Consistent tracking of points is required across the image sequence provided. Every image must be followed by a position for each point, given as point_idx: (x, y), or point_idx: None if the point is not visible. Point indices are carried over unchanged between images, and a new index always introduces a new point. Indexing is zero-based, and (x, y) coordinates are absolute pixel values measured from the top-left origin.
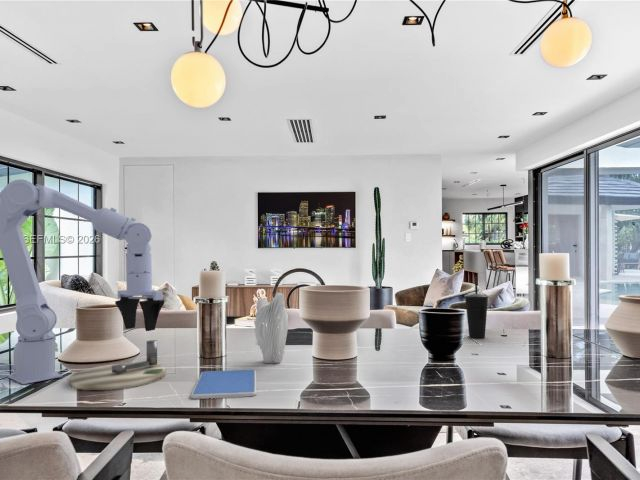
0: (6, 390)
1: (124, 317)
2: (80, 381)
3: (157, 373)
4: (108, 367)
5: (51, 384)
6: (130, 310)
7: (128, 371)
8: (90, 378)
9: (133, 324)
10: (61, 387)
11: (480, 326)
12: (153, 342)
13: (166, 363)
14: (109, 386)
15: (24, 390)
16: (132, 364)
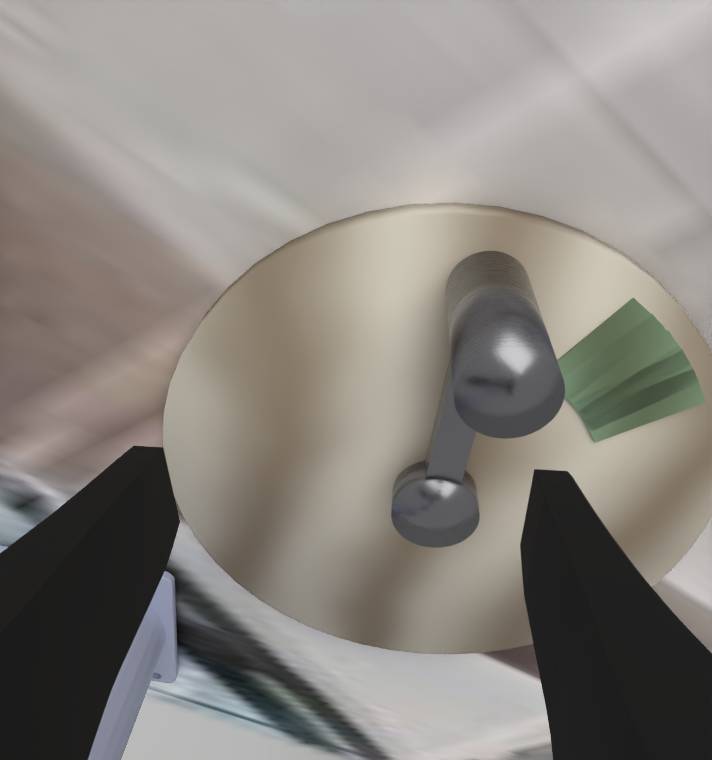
0: (208, 713)
1: (119, 660)
2: (405, 630)
3: (695, 403)
4: (241, 431)
5: (259, 632)
6: (58, 686)
7: None
8: (395, 590)
9: (152, 490)
10: (345, 640)
11: None
12: (555, 408)
13: (382, 13)
14: None
15: (263, 697)
16: (470, 450)
